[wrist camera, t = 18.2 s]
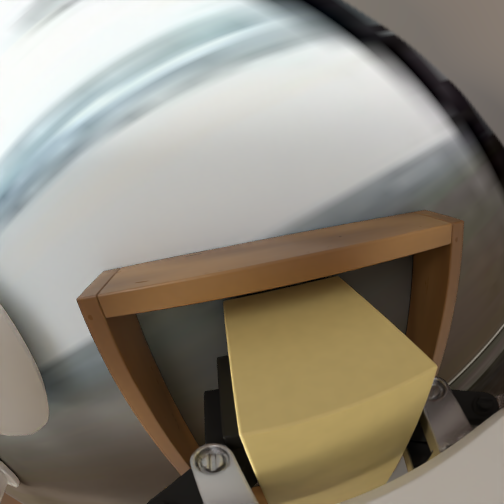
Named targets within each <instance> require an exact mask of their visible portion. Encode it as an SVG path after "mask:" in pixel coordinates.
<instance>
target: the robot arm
mask: <svg viewBox="0 0 504 504" xmlns="http://www.w3.org/2000/svg"><path fill="white" fill-rule="evenodd" d="M217 368H218V384H219V389H216V390H210V391H205V392H204V415H205V445H202V446H200V447H199V448H197V449H196V450H195V451H194V452H193V454H192V455H191V458H190V466H191V468H190V469H189V470H188V471H186V472H185V473H184V474H183V475H182V476H180V477H179V478H178V479H177V480H176V481H174V482H173V483H172V484H171V485H169V486H168V487H167V488H165V489H164V490H163V491H162V492H160V493H159V494H158V495H156V496H155V497H154V498H152V499H151V500H150V501H149V502H148V503H147V504H259V503H258V501H257V499H256V497H255V495H254V494H253V492H252V490H251V489H252V488H253V487H254V485H255V484H256V483H257V478H256V475H255V473H254V471H253V468H252V466H251V464H250V461H249V459H248V456H247V454H246V451H245V449H244V446H243V444H242V441H241V438H240V436H239V430H238V424H237V417H236V409H235V402H234V394H233V387H232V379H231V371H230V363H229V355H228V356H223V357H217ZM403 457H404V460H405V464H406V467H407V471H408V473H406V474H404V475H402V476H400V477H398V478H397V479H395V480H393V481H390V482H388V483H386V484H384V485H382V486H380V487H378V488H375V489H373V490H371V491H368V492H366V493H364V494H361V495H359V496H356V497H354V498H351V499H348V500H346V501H343V502H340V503H337V504H504V394H501V395H497V396H496V398H495V397H494V396H493V395H491V394H489V393H485V392H471V391H460V390H451V389H450V387H449V385H448V384H447V382H446V381H445V380H444V379H442V378H440V377H437V376H435V378H434V381H433V384H432V387H431V390H430V392H429V395H428V398H427V401H426V403H425V406H424V408H423V411H422V413H421V416H420V418H419V421H418V423H417V425H416V427H415V430H414V432H413V434H412V436H411V438H410V440H409V443H408V445H407V447H406V449H405V451H404V453H403ZM7 484H9V485H12V486H15V487H18V485H19V479H18V478H17V476H16V475H15V474H14V473H13V472H12V471H11V470H10V469H9V468H8V467H7V466H6V465H5V464H4V463H3V462H2V461H0V503H1V500H2V497H3V494H4V491H5V488H6V486H7Z"/></svg>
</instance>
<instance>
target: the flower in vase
mask: <svg viewBox="0 0 504 504" xmlns="http://www.w3.org/2000/svg"><path fill="white" fill-rule="evenodd" d="M48 418H49V407H48V400H47V394H46V390H45V385H44V382H43V380H42V376H41V374H40V372H39V369H38V367H37V365H36V363H35V361H34V359H33V357H32V355H31V353H30V351H29V349H28V347H27V345H26V344H25V342H24V340H23V338H22V336H21V335H20V333H19V332H18V330H17V328H16V326H15V325H14V323H13V322H12V320H11V319H10V317H9V316H8V314H7V313H6V311H5V310H4V309H3V307H2V306H1V304H0V434H2V435H10V436H19V435H30V434H33V433H35V432H36V431H38V430H39V429H41V428H42V427H43V426H44V425H45V424H46V423H47V421H48Z"/></svg>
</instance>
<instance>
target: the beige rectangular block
mask: <svg viewBox="0 0 504 504" xmlns="http://www.w3.org/2000/svg"><path fill="white" fill-rule="evenodd" d="M223 308H224V318H225V327H226V336H227V345H228V354H229V363H230V371H231V379H232V387H233V394H234V402H235V409H236V417H237V424H238V430H239V436H240V438H241V441H242V444H243V446H244V449H245V451H246V454H247V456H248V459H249V461H250V464H251V466H252V468H253V471H254V473H255V475H256V478H257V480H258V482H259V485H260V487H261V489H262V491H263V494H264V496H265V498H266V500H267V503H268V504H337V503H340V502H343V501H346V500H348V499H351V498H354V497H356V496H359V495H361V494H364V493H366V492H368V491H371V490H373V489H375V488H378V487H380V486H382V485H384V484H386V483H387V481H388V480H389V478H390V476H391V475H392V473H393V471H394V469H395V468H396V466H397V464H398V462H399V460H400V458H401V456H402V455H403V453H404V451H405V449H406V447H407V445H408V443H409V440H410V438H411V436H412V434H413V432H414V430H415V427H416V425H417V423H418V421H419V418H420V416H421V413H422V411H423V408H424V406H425V403H426V401H427V398H428V395H429V392H430V390H431V387H432V384H433V381H434V378H435V375H436V371H437V368H438V367H437V365H436V364H435V363H434V362H433V361H432V360H431V359H430V358H429V357H428V356H427V355H426V354H425V353H424V352H423V351H422V350H421V349H420V348H418V347H417V346H416V345H415V344H414V343H413V342H412V341H411V340H410V339H409V338H408V337H407V336H405V335H404V334H403V333H402V332H401V331H400V330H399V329H398V328H397V327H396V326H395V325H393V324H392V323H391V322H390V321H389V320H388V319H387V318H386V317H385V316H383V315H382V314H381V313H380V312H379V311H378V310H377V309H376V308H374V307H373V306H372V305H371V304H370V303H369V302H368V301H367V300H365V299H364V298H363V297H362V296H361V295H360V294H359V293H357V292H356V291H355V290H354V289H353V288H352V287H350V286H349V285H348V284H347V283H346V282H345V281H343V280H342V279H341V278H340V277H339V276H334V277H330V278H326V279H322V280H318V281H314V282H309V283H305V284H301V285H296V286H292V287H287V288H283V289H278V290H274V291H269V292H264V293H260V294H255V295H250V296H245V297H240V298H235V299H230V300H225V301H223Z"/></svg>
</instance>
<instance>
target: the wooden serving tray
mask: <svg viewBox="0 0 504 504" xmlns="http://www.w3.org/2000/svg"><path fill="white" fill-rule="evenodd" d="M463 230H464V221H463V220H460V219H456V218H453V217H449V216H446V215H442V214H438V213H435V212H431V211H427V210H423V211H417V212H411V213H405V214H399V215H394V216H388V217H382V218H377V219H371V220H366V221H360V222H354V223H349V224H343V225H338V226H332V227H327V228H322V229H316V230H311V231H305V232H300V233H295V234H289V235H284V236H279V237H274V238H268V239H263V240H258V241H253V242H247V243H242V244H237V245H232V246H227V247H222V248H216V249H211V250H206V251H201V252H196V253H191V254H186V255H181V256H176V257H171V258H166V259H161V260H156V261H151V262H146V263H141V264H136V265H132V266H127V267H122V268H121V269H120V268H117V269H112V270H107V271H103V272H102V273H101V274H100V275H99V276H98V277H97V278H96V279H95V280H94V281H93V282H92V283H91V284H90V285H89V286H88V287H87V288H86V289H85V290H84V291H83V292H82V293H81V295H80V296H79V297H78V298H77V303H78V305H79V308H80V310H81V313H82V315H83V317H84V320H85V322H86V324H87V327H88V329H89V331H90V333H91V336H92V338H93V340H94V342H95V344H96V346H97V348H98V350H99V352H100V354H101V356H102V358H103V360H104V362H105V364H106V366H107V368H108V370H109V372H110V373H111V375H112V377H113V379H114V381H115V382H116V384H117V386H118V388H119V389H120V391H121V393H122V394H123V396H124V398H125V399H126V401H127V402H128V404H129V406H130V407H131V409H132V410H133V412H134V413H135V415H136V416H137V418H138V419H139V421H140V422H141V424H142V425H143V427H144V428H145V430H146V431H147V432H148V434H149V435H150V437H151V438H152V439H153V441H154V442H155V443H156V445H157V446H158V447H159V449H160V450H161V451H162V453H163V454H164V455H165V456H166V458H167V459H168V460H169V461H170V463H171V464H172V465H173V466H174V467H175V469H176V470H177V471H178V472H179V473H180V474H181V476H182V475H183V474H184V473H185V472H186V471H188V470H189V469H190V468H191V466H190V458H191V455H192V454H193V452H194V451H195V450H196V449H197V448H199V446H198V444H197V442H196V441H195V439H194V437H193V436H192V434H191V432H190V430H189V429H188V427H187V425H186V423H185V421H184V420H183V418H182V416H181V414H180V412H179V410H178V408H177V406H176V405H175V403H174V401H173V399H172V397H171V395H170V393H169V391H168V389H167V387H166V385H165V382H164V380H163V378H162V376H161V374H160V372H159V370H158V367H157V365H156V363H155V361H154V358H153V356H152V354H151V351H150V349H149V347H148V344H147V342H146V339H145V337H144V334H143V332H142V329H141V327H140V324H139V322H138V319H137V316H136V314H137V313H143V312H149V311H156V310H162V309H168V308H174V307H179V306H185V305H191V304H196V303H202V302H207V301H213V300H218V299H223V298H228V297H233V296H239V295H244V294H249V293H253V292H258V291H263V290H268V289H273V288H277V287H282V286H287V285H291V284H296V283H300V282H305V281H309V280H313V279H318V278H322V277H326V276H331V275H335V274H339V273H343V272H347V271H351V270H355V269H359V268H363V267H367V266H371V265H375V264H379V263H383V262H387V261H391V260H394V259H398V258H402V257H406V256H409V255H413V254H414V255H413V275H412V288H411V299H410V309H409V317H408V324H407V331H406V336H407V337H408V338H409V339H410V340H411V341H412V342H413V343H414V344H415V345H416V346H417V347H418V348H420V349H421V350H422V351H423V352H424V353H425V354H426V355H427V356H428V357H429V358H430V359H431V360H432V361H433V362H434V363H435V364H436V365H437V367H438V368H437V371H436V375H435V376H437V374H438V371H439V368H440V365H441V361H442V358H443V355H444V351H445V347H446V344H447V340H448V336H449V331H450V327H451V323H452V318H453V313H454V308H455V302H456V297H457V291H458V284H459V277H460V268H461V259H462V247H463ZM402 457H403V455H402V456H401V458H400V460H401V459H402ZM400 460H399V462H400ZM399 462H398V464H399ZM398 464H397V466H398ZM397 466H396V468H397ZM396 468H395V469H396ZM395 469H394V471H395ZM394 471H393V472H394ZM251 490H252V492H253V494H254V495H255V497H256V499H257V501H258V503H259V504H268V503H267V500H266V498H265V496H264V494H263V491H262V489H261V487H260V486H257V487H253V488H252V489H251Z"/></svg>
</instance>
